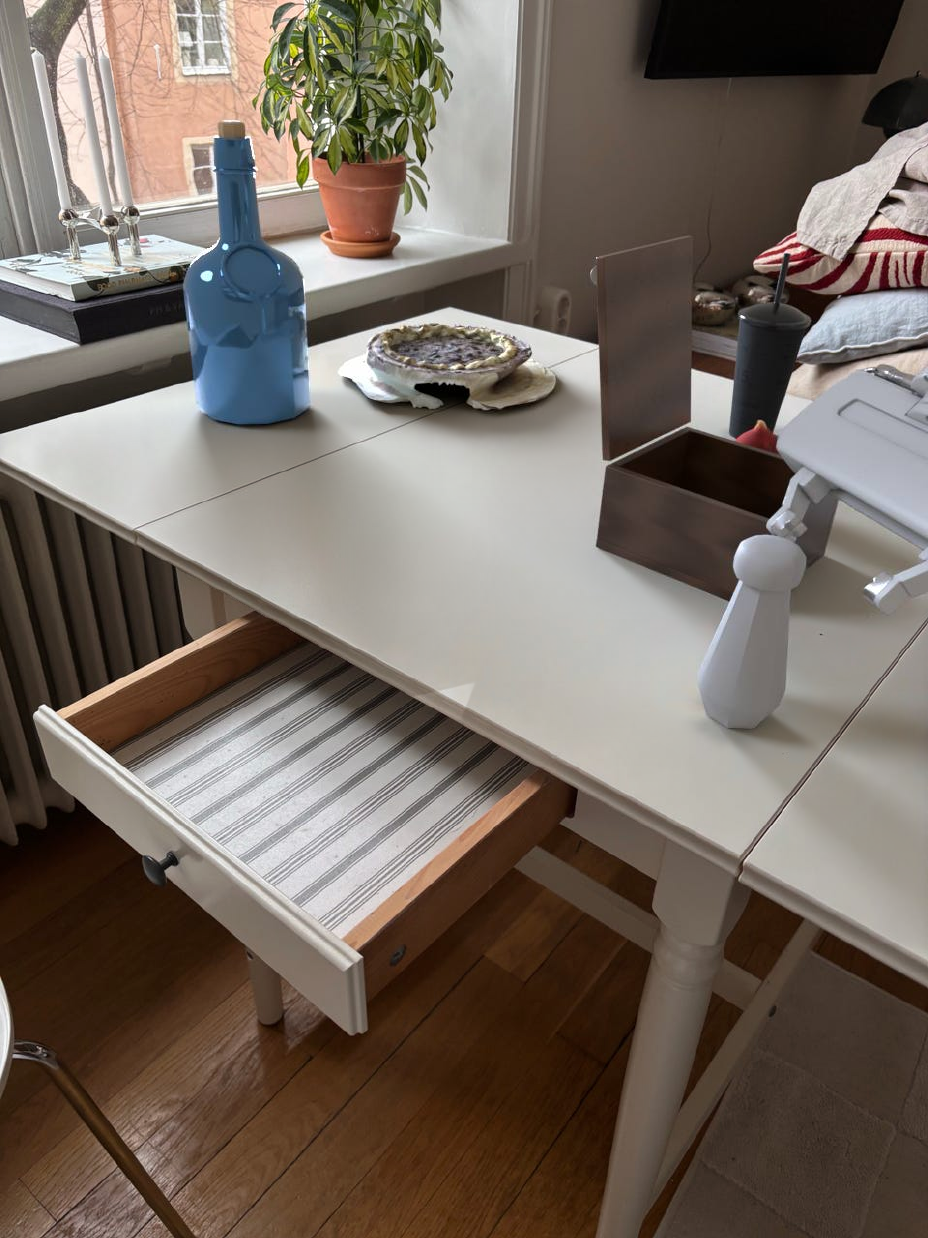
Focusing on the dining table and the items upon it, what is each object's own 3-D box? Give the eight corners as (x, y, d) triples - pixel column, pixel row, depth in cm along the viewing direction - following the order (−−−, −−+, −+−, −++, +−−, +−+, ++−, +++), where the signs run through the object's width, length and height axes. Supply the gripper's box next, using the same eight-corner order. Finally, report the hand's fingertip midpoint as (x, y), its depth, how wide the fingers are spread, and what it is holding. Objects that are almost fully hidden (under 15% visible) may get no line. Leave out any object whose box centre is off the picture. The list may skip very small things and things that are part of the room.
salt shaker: (689, 728, 64) (724, 559, 57) (692, 680, 69) (725, 518, 62) (779, 744, 63) (825, 573, 56) (776, 694, 68) (819, 530, 61)
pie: (317, 355, 130) (316, 318, 127) (500, 339, 139) (502, 304, 137) (384, 428, 108) (383, 385, 106) (594, 403, 118) (599, 363, 115)
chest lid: (693, 235, 83) (649, 236, 86) (604, 256, 74) (558, 257, 77) (691, 421, 90) (650, 417, 93) (610, 461, 81) (567, 455, 84)
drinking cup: (742, 418, 115) (777, 243, 105) (797, 437, 110) (839, 256, 100) (702, 431, 111) (735, 250, 100) (757, 452, 106) (797, 264, 95)
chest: (824, 554, 86) (846, 474, 82) (754, 611, 77) (774, 524, 73) (674, 501, 95) (686, 426, 90) (595, 546, 86) (605, 465, 82)
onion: (784, 494, 97) (801, 418, 93) (768, 515, 93) (786, 436, 88) (728, 480, 99) (742, 406, 95) (710, 500, 95) (725, 423, 91)
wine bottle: (188, 395, 115) (153, 114, 99) (296, 384, 120) (279, 114, 104) (209, 436, 104) (174, 129, 88) (327, 422, 109) (314, 128, 93)
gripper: (852, 327, 65) (706, 477, 67) (1124, 432, 49) (922, 624, 51) (886, 386, 69) (747, 526, 71) (1148, 501, 53) (959, 677, 55)
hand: (822, 568), depth 61 cm, fingers open, 8 cm apart
